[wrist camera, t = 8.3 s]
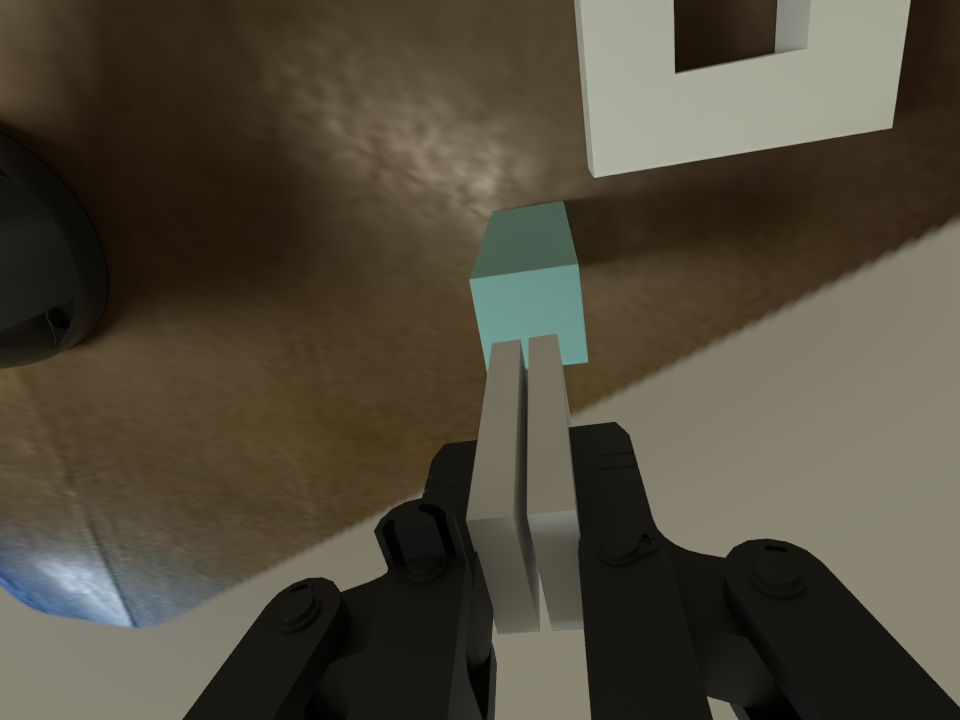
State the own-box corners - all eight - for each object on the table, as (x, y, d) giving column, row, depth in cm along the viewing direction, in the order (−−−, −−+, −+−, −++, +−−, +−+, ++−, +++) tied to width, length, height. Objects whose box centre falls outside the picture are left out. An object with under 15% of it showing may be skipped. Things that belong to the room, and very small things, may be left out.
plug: (503, 278, 32) (487, 373, 22) (492, 212, 31) (469, 279, 20) (570, 269, 32) (588, 362, 21) (563, 200, 30) (578, 263, 19)
